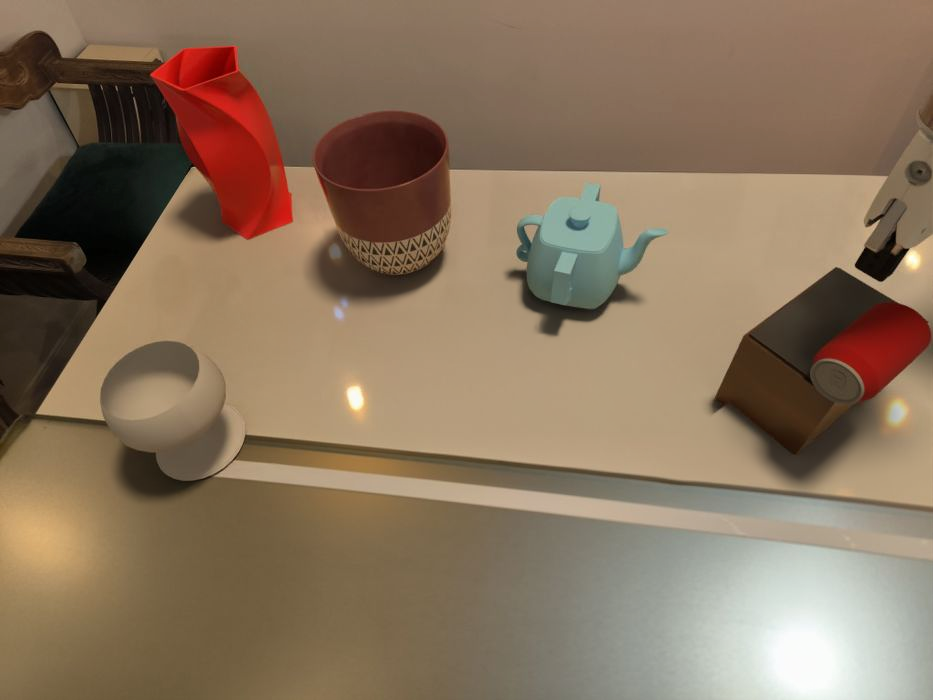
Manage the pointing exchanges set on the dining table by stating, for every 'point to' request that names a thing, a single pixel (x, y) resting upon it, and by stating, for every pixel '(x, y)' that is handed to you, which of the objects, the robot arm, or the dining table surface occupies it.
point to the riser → (795, 360)
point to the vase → (228, 137)
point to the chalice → (173, 409)
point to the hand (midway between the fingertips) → (872, 271)
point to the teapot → (579, 250)
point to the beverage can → (870, 353)
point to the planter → (388, 188)
